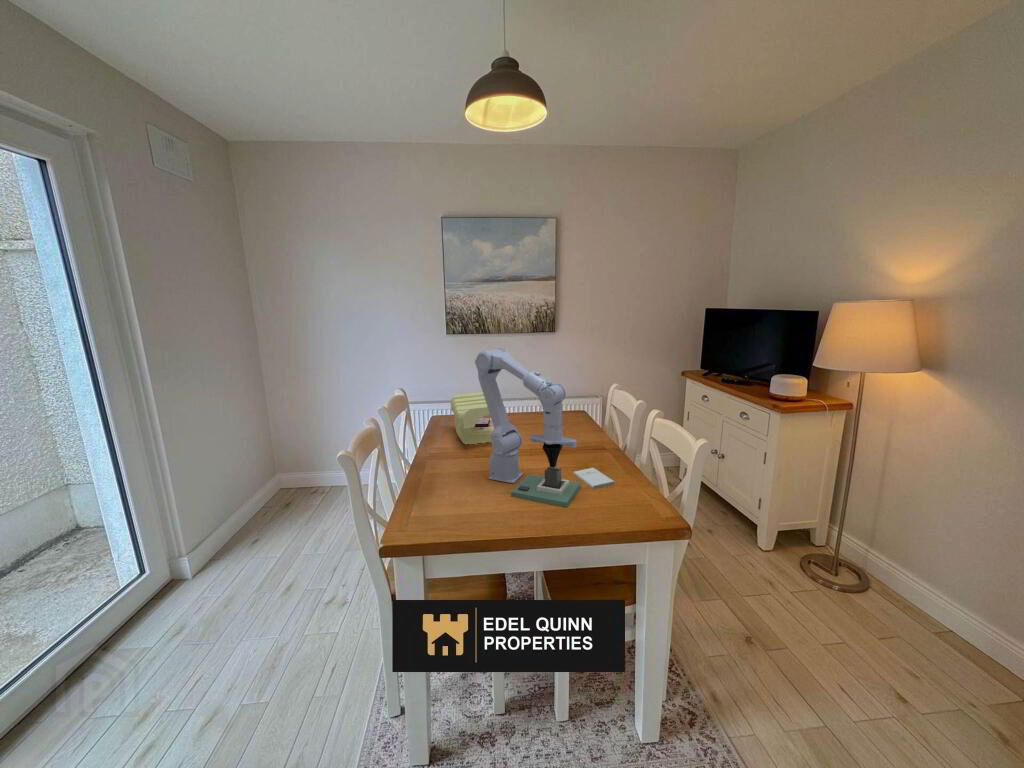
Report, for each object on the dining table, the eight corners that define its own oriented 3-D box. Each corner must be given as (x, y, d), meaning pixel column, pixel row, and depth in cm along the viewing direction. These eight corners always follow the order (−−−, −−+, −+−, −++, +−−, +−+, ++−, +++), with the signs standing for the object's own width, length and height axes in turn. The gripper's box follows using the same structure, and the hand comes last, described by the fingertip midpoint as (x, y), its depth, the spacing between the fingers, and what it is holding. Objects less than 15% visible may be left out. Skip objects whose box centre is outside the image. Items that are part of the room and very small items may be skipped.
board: (511, 496, 124) (510, 488, 124) (529, 478, 137) (528, 470, 136) (566, 507, 117) (566, 498, 116) (580, 487, 129) (580, 479, 128)
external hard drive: (592, 490, 128) (573, 475, 139) (614, 485, 130) (593, 471, 142) (592, 486, 127) (573, 471, 139) (614, 481, 130) (593, 467, 142)
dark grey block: (544, 488, 125) (544, 470, 124) (549, 483, 129) (549, 465, 127) (557, 491, 123) (556, 472, 122) (561, 485, 127) (561, 467, 126)
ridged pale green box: (452, 431, 190) (450, 394, 186) (485, 427, 195) (483, 391, 191) (465, 453, 162) (462, 410, 158) (503, 447, 167) (501, 406, 163)
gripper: (525, 425, 122) (526, 467, 125) (571, 430, 116) (571, 474, 118) (534, 419, 128) (535, 459, 131) (578, 423, 122) (578, 465, 124)
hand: (553, 466), depth 125 cm, fingers closed
